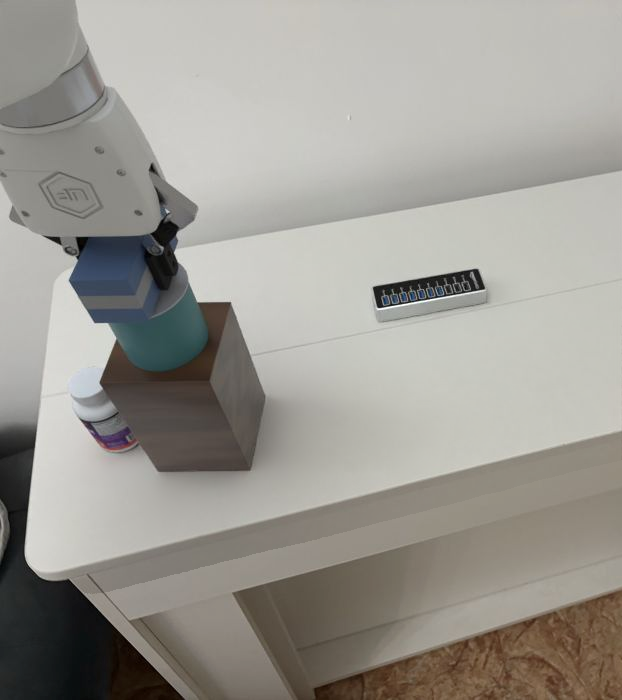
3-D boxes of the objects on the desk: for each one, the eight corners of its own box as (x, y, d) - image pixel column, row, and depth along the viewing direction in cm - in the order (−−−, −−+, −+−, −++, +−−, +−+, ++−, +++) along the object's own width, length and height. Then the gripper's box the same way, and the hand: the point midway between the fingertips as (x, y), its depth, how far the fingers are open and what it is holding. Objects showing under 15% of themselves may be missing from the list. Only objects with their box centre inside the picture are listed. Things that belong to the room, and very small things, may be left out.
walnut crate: (250, 470, 77) (209, 381, 64) (157, 471, 76) (98, 383, 64) (265, 395, 83) (230, 301, 71) (179, 396, 83) (130, 302, 70)
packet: (149, 323, 58) (127, 279, 54) (93, 323, 58) (67, 280, 54) (179, 240, 65) (160, 196, 61) (128, 241, 64) (107, 197, 61)
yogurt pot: (200, 372, 65) (175, 320, 59) (113, 373, 65) (80, 321, 59) (218, 309, 70) (196, 255, 64) (137, 310, 70) (109, 256, 64)
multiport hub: (372, 298, 93) (370, 285, 91) (478, 279, 95) (479, 266, 93) (377, 322, 90) (376, 310, 88) (487, 302, 93) (487, 290, 91)
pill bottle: (95, 423, 80) (57, 371, 73) (144, 407, 82) (111, 354, 74) (101, 461, 77) (62, 410, 70) (152, 443, 79) (119, 392, 71)
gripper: (-117, 116, 45) (22, 312, 59) (153, 114, 45) (227, 310, 59) (-63, 56, 49) (54, 250, 63) (181, 54, 50) (244, 248, 64)
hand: (137, 277), depth 61 cm, fingers closed on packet, 4 cm apart
